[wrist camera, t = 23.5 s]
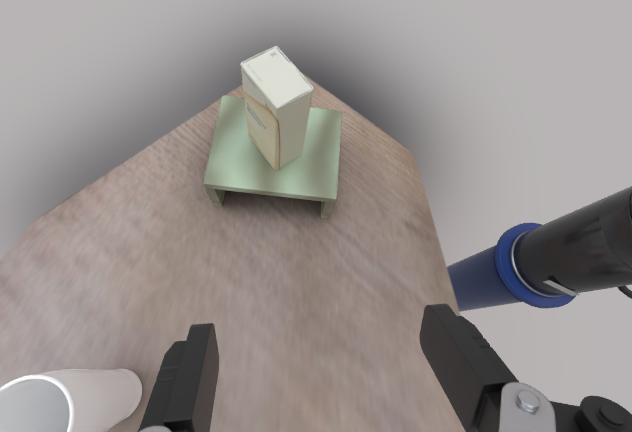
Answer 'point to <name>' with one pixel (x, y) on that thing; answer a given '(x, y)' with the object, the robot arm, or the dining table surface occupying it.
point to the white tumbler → (69, 400)
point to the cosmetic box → (276, 106)
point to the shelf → (255, 171)
